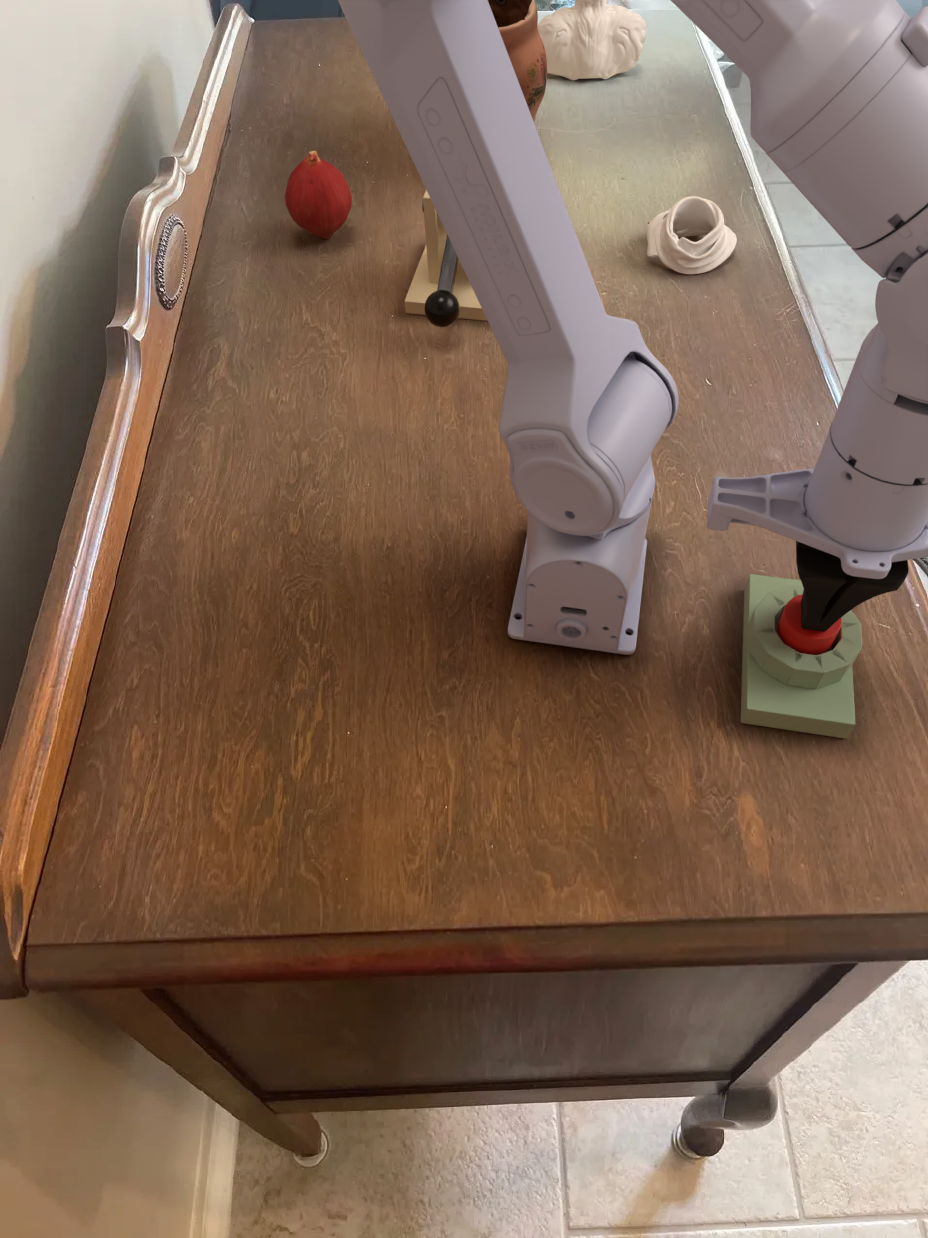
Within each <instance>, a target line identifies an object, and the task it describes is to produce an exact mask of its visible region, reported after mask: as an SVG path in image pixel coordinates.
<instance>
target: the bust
mask: <svg viewBox="0 0 928 1238" xmlns="http://www.w3.org/2000/svg"><path fill="white" fill-rule="evenodd" d="M537 25H538V32H539V35H540V37H541V39H542V41H543V44H544V47H545V51H546V58H547V74H548V75H549V74H550V75H554V76H561V77H564V78H566V79H568V80H570V81H576V80H580V79H581V80H582V79H583V80H584V79H602V80H608V79H610V78H611V77H613V76H615V75H617V74H623V73H626V72H629V71H631V70H633V69H634V68H635V66H637V64H638V62H639V60H640V58H641V56H642V53H643V50H644V46H645V43H646V38H647V37H646V36H647V30H648V26H647V23H646V21H645V20H644V18H643V17H642V16H641V15H640V14H639V13H638V12H635V11H630V9H628V8H627V7H625V6H622V5H619V4H615V5H610V4H609V3H608V0H575V1H574V5H573V6H571V7H569V6H566V7H565V6H564V7H561V8H559V9H557V10H555V11H554V12H552V14H548V15H546V16H544V17H543V18H542V19H541V20H540V22H539V23H537Z"/></svg>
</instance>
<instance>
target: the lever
mask: <svg viewBox="0 0 928 1238" xmlns="http://www.w3.org/2000/svg"><path fill="white" fill-rule="evenodd" d="M458 261H459V258H458V256H457V254H456V252H455V250H454V248H453V246H452V244H451V241H450V239H449V237H448V235H447V238H446V244H445V249H444V255H443V260H442V266H441V272H440V277H439V283H438V288H437V291H435V292H433V293H431V294H430V295H429V296H428V298H427V300H426V302H425V306H424V311H425V315H424V316H425V317H426V319H427V320H428V322H429V323H430V324H432V325H433V326H435V327H438V328H446V327H450V326H451V325H452V324H454V323H455V322H456V321H457V319H458V318H457V317H458V315H459V311H460V306H459V302H458V300H457V298H456V297H455V296H454V295H453V289H454V283H455V278H456V272H457V266H458Z"/></svg>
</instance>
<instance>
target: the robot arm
mask: <svg viewBox="0 0 928 1238" xmlns="http://www.w3.org/2000/svg"><path fill="white" fill-rule="evenodd" d="M337 1H338V4H339V6H340V9H341V11H342V13H343V15H344V17H345V20H346V22H347V24H348V26H349V28H350V31H351V32H352V34H353V36H354V38H355V41H356V43H357V45H358V47H359V49H360V51H361V53H362V56H363V58H364V60H365V62H366V64H367V67H368V69H369V71H370V73H371V75H372V77H373V80H374V81H375V83H376V85H377V89H378V90H379V92H380V94H381V96H382V98H383V101H384V103H385V105H386V107H387V109H388V111H389V114H390V116H391V118H392V120H393V122H394V124H395V126H396V127H397V131H398V132H399V135H400V137H401V139H402V141H403V143H404V145H405V147H406V150H407V152H408V154H409V156H410V159H411V160H412V163H413V165H414V167H415V169H416V171H417V173H418V175H419V177H420V180H421V182H422V184H423V186H424V188H425V191H426V190H427V192H428V194H429V197H430V199H431V201H432V203H433V205H434V207H435V209H436V212H437V214H438V216H439V218H440V220H441V222H442V224H443V226H444V229H445V231H446V233H447V235H448V237H449V239H450V241H451V244H452V246H453V248H454V250H455V252H456V254H457V256H458V258H459V261H460V263H461V265H462V267H463V269H464V271H465V273H466V276H467V278H468V280H469V282H470V284H471V286H472V288H473V290H474V293H475V295H476V297H477V299H478V301H479V303H480V305H481V308H482V310H483V312H484V314H485V316H486V318H487V320H488V321H487V323H488V325H489V327H490V329H491V331H492V333H493V335H494V338H495V340H496V342H497V344H498V346H499V348H500V350H501V352H502V354H503V356H504V359H505V361H506V363H507V374H506V380H505V386H504V387H505V388H504V394H503V400H502V406H501V412H500V418H499V419H500V420H499V428H498V429H499V435H500V437H501V438H502V441H503V443H504V445H505V447H506V449H507V453H508V455H509V463H510V469H509V479H510V484H511V487H512V490H513V492H514V494H515V496H516V498H517V499H518V501H519V502H520V503H521V505H522V506H523V507H524V509H526V511H527V524H526V538H525V544H524V548H523V553H522V558H521V563H520V568H519V572H518V577H517V581H516V587H515V591H514V596H513V601H512V607H511V611H510V616H509V620H508V625H507V635H508V637H510V639H513V640H519V641H526V642H527V641H528V642H535V643H540V644H541V643H542V644H547V645H555V646H563V647H569V648H577V649H583V650H590V651H597V652H604V653H610V654H611V653H612V654H619V655H625V656H628V655H629V656H630V655H633V654H634V653H635V651H636V648H637V640H638V631H639V621H640V612H641V604H642V603H641V602H642V594H643V584H644V576H645V575H644V574H645V565H646V558H647V557H646V556H647V546H648V540H647V538H646V534H647V529H648V524H649V519H650V513H651V509H652V503H653V499H654V493H655V488H656V478H655V471H654V466H653V461H652V453H653V451H654V450H655V448H656V446H657V444H658V443H659V441H660V439H661V438H662V435H663V434H664V432H665V431H666V430H667V429H669V427H670V426H671V425H672V424H673V422H674V420H675V418H676V416H677V413H678V410H679V403H680V397H679V391H678V386H677V385H676V381H675V380H674V378H673V376H672V374H671V373H670V372H669V370H668V368H667V367H665V366H664V364H662V362H660V361H659V359H658V358H656V357H655V356H654V355H653V353H652V352H651V351H650V349H649V348H648V346H647V344H646V342H645V340H644V338H643V336H642V333H641V331H640V327H639V325H638V323H637V322H636V321H634V320H632V319H627V318H623V317H620V316H619V317H618V316H614V315H610V314H608V313H606V310H605V307H604V305H603V301H602V299H601V296H600V293H599V291H598V288H597V285H596V283H595V280H594V278H593V275H592V273H591V270H590V267H589V265H588V262H587V259H586V257H585V254H584V251H583V249H582V246H581V243H580V241H579V238H578V235H577V233H576V230H575V227H574V224H573V222H572V219H571V216H570V213H569V212H568V209H567V206H566V203H565V201H564V198H563V196H562V193H561V191H560V188H559V186H558V185H559V184H558V182H557V179H556V177H555V174H554V172H553V169H552V166H551V164H550V161H549V159H548V156H547V153H546V151H545V148H544V146H543V144H542V141H541V137H540V135H539V132H538V129H537V127H536V124H535V121H534V122H533V119H532V116H531V114H530V111H529V108H528V106H527V103H526V100H525V98H524V95H523V92H522V90H521V87H520V85H519V82H518V79H517V77H516V74H515V71H514V69H513V66H512V63H511V61H510V58H509V56H508V53H507V50H506V48H505V45H504V42H503V40H502V37H501V34H500V32H499V29H498V26H497V24H496V21H495V19H494V16H493V13H492V11H491V8H490V5H489V3H488V0H337ZM670 1H671V3H672V4H674V5H675V7H677V8H678V10H680V12H681V13H683V14H684V15H685V16H686V17H687V18H688V19H689V20H690V21H691V22H692V23H693V24H694V26H696V27H697V28H698V30H700V31H701V32H702V33H703V34H704V35H705V36H706V37H707V38H708V39H709V40H710V42H712V43H713V45H715V46H716V47H717V48H718V49H719V50H720V51H721V52H722V53H723V54H724V55H725V56H726V57H727V58H728V59H729V60H730V61H731V62H732V63H733V64H735V66H736V67H737V68H738V69H739V70H740V71H741V72H743V74H744V75H745V76H746V77H747V78H748V80H749V87H750V120H749V121H750V122H749V130H750V136H751V138H752V140H753V141H754V142H755V143H756V144H757V145H758V146H759V147H760V148H761V149H762V150H763V152H765V154H766V156H767V157H769V159H770V160H771V161H772V162H773V163H774V164H775V165H776V167H777V168H778V169H779V170H780V171H781V172H782V174H784V176H786V178H787V179H788V180H789V181H790V182H791V184H792V185H794V187H795V188H796V189H797V190H798V191H799V193H801V195H802V196H803V197H804V198H805V199H806V200H807V201H808V203H810V204H811V206H813V208H814V209H815V210H816V211H817V212H818V213H819V215H821V217H822V218H823V220H825V221H826V222H827V224H829V226H830V227H831V228H832V229H833V230H834V231H835V232H836V233H837V235H839V237H840V238H841V239H842V240H843V242H845V243H846V244H847V246H848V247H850V248H851V250H852V251H853V252H854V253H855V255H856V256H857V257H858V258H859V259H860V260H861V261H862V262H863V263H864V264H866V265H867V266H868V267H869V268H870V269H872V270H873V271H874V272H875V273H876V274H877V275H878V276H880V277H881V278H882V279H880V280H879V282H878V284H877V287H876V291H875V302H874V306H875V315H876V320H877V323H876V324H875V325H874V327H872V328H871V330H870V331H869V332H868V333H867V334H866V336H865V338H864V339H863V341H862V343H861V345H860V348H859V350H858V353H857V356H856V359H855V360H854V363H853V366H852V368H851V372H850V374H849V377H848V379H847V382H846V385H845V387H844V389H843V392H842V395H841V398H840V401H839V403H838V406H837V408H836V411H835V413H834V416H833V419H832V421H831V423H830V426H829V428H828V431H827V434H826V436H825V439H824V442H823V445H822V447H821V449H820V453H819V455H818V458H817V461H816V463H815V466H814V467H808V468H801V469H794V470H785V471H780V472H772V473H767V474H759V475H752V476H751V475H750V476H740V477H739V476H738V477H737V476H735V477H734V476H733V477H732V476H731V477H730V476H718V475H717V476H716V475H715V476H714V477H713V481H712V485H711V489H710V492H709V497H708V500H707V510H706V512H707V513H706V529H707V530H713V531H722V532H725V531H727V530H729V527H730V525H731V524H730V523H732V524H741V525H750V526H756V527H759V528H761V529H764V530H767V531H770V532H772V533H775V534H777V535H780V536H783V537H785V538H788V539H790V540H792V541H795V564H796V569H797V573H798V578H799V580H801V582H802V585H803V588H804V590H803V595H802V599H801V627H802V628H803V629H808V630H815V631H822V632H825V631H827V630H828V629H829V628H830V627H831V626H832V625H833V624H834V623H835V622H837V621H838V620H839V619H840V618H841V617H843V616H844V615H845V614H846V613H848V612H849V611H850V610H852V611H853V609H855V608H856V607H858V606H859V605H860V604H861V605H862V603H864V602H866V601H868V600H870V599H873V598H875V597H878V596H881V595H883V594H888V593H891V592H895V591H898V590H899V589H900V587H901V586H902V585H903V584H904V582H905V581H906V579H907V577H908V574H909V569H910V568H909V561H910V560H911V561H912V560H917V559H924V558H928V6H927V5H926V6H923V8H921V9H920V10H919V11H918V12H917V13H915V14H914V16H912V17H911V18H910V16H909V15H908V13H907V12H906V11H905V10H904V9H903V7H902V6H901V5H900V4H899V2H898V1H897V0H670ZM516 618H520V619H516ZM627 633H631V634H630V635H629V634H627Z"/></svg>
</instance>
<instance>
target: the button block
mask: <svg viewBox="0 0 928 1238" xmlns="http://www.w3.org/2000/svg"><path fill="white" fill-rule="evenodd" d="M803 590H804V588H803V585H802V582H801V580H800V579H795V578H784V577H777V576H769V575H762V574H753V573H749V575H748V578H747V581H746V583H745V587H744V590H743V617H742V618H743V620H742V623H743V624H742V657H741V659H742V660H741V694H740V695H741V698H740V723H741V724H745V725H752V726H759V727H766V728H773V729H780V730H786V731H792V732H800V733H806V734H812V735H820V736H824V737H825V736H827V737H832V738H833V737H834V738H838V739H839V738H840V739H845V740H846V739H848V737H849V736H850V734H851V733H852V731H853V729H854V728H855V726H856V708H855V707H856V706H855V691H854V675H853V674H854V672H853V665H854V663H855V661H856V659H857V658H858V657H859V654H860V653H861V651H862V649H863V633H862V632H863V631H862V622H861V621H860V620H859V618H858V617H857V616H856V614H855V613H854V611H853V609H852V610H850V611H849V612H848V613H846V614H845V615H844V616H843V617H841V618H842V625H841V628H840V630H839V632H838V634H837V636H836V638H835V640H834V641H833V643H832V645H831V647H830V648H829V649H828V650H827V651H826V652H824V653H822V654H819V655H810V654H803V653H799V652H797V651H795V650H794V649H792V648H790V647H789V646H787V645H785V644H784V643H783V642H782V640H781V639H780V637H779V636H778V632H777V626H778V623H779V620H780V618H781V615H782V613H783V611H784V608H785V606H786V604H787V603H788V602H789V601H790V600H791V599H792V598H794V597H796V596H798V595H803Z"/></svg>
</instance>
